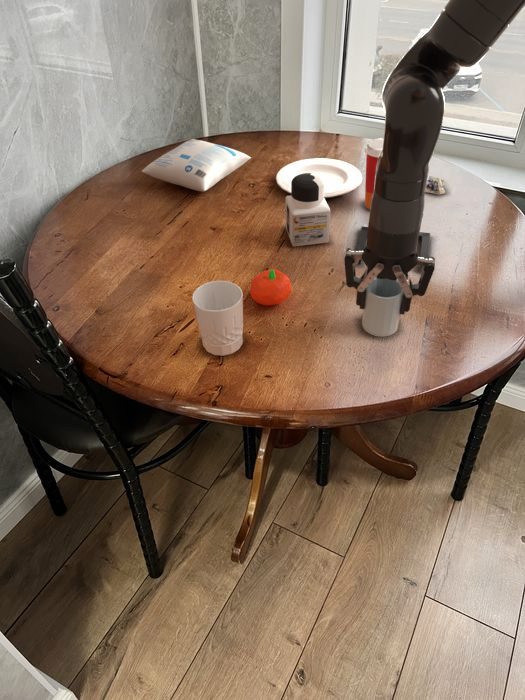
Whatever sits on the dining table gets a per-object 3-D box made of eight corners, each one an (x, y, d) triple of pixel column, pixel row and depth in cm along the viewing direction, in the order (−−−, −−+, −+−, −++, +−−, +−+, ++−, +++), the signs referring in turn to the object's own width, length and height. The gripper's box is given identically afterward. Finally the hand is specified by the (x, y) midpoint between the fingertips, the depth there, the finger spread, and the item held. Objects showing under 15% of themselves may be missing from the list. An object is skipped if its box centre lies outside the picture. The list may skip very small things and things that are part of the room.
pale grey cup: (398, 316, 94) (405, 278, 89) (396, 339, 90) (402, 300, 84) (364, 312, 95) (368, 274, 90) (360, 334, 91) (364, 296, 86)
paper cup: (394, 197, 125) (402, 137, 116) (394, 214, 120) (403, 152, 110) (360, 196, 126) (365, 136, 117) (358, 212, 121) (364, 151, 111)
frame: (429, 238, 112) (430, 232, 111) (426, 272, 103) (427, 266, 102) (361, 231, 115) (361, 226, 114) (353, 263, 106) (353, 258, 105)
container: (292, 247, 111) (292, 188, 103) (285, 228, 117) (284, 171, 108) (329, 243, 112) (332, 184, 103) (320, 224, 118) (322, 167, 109)
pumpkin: (241, 302, 99) (239, 273, 94) (270, 282, 103) (269, 253, 99) (271, 318, 95) (270, 289, 91) (299, 296, 99) (300, 267, 95)
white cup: (212, 323, 95) (206, 276, 88) (253, 333, 92) (250, 286, 86) (191, 352, 90) (183, 304, 83) (234, 363, 87) (229, 315, 80)
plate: (340, 212, 121) (341, 204, 120) (260, 193, 129) (260, 185, 128) (374, 174, 134) (375, 166, 133) (299, 159, 142) (299, 152, 141)
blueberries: (437, 177, 131) (439, 170, 130) (454, 192, 126) (456, 184, 124) (412, 182, 130) (413, 174, 129) (428, 197, 125) (430, 189, 123)
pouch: (201, 173, 121) (249, 138, 132) (137, 159, 129) (188, 127, 141) (207, 205, 126) (252, 168, 138) (145, 190, 134) (193, 156, 146)
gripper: (342, 227, 78) (335, 317, 89) (446, 237, 75) (425, 329, 86) (349, 202, 83) (342, 290, 94) (446, 210, 80) (427, 300, 91)
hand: (382, 308), depth 90 cm, fingers closed on pale grey cup, 6 cm apart
